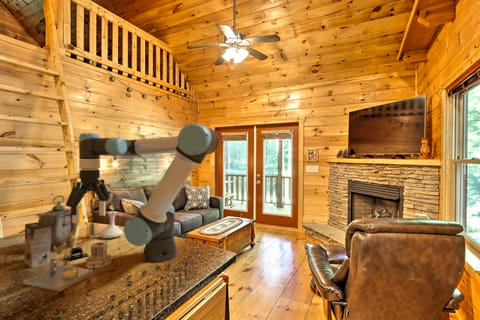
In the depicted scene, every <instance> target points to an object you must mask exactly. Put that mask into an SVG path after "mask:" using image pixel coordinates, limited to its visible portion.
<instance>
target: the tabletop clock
mask: <svg viewBox="0 0 480 320" xmlns="http://www.w3.org/2000/svg"><path fill="white" fill-rule="evenodd" d="M58 198H62V201H61V202H60V201H57V202H55V200H57V199H58ZM64 201H65V197H64V195H57V196H55V197H54V198H53V200H52V203H53V204H54V206H53V207H52V208H51V210H49V211H46V212H44V213H42V214H40V216H39V217H38V222H45V223H47V224H49V225H51V242H52V243H51V250H52V251H56V250H57V246H56V243H60V242H63V241H65V240H68V243H72V242H73V239H72V237H73V236H74V235H75V234H76V230H77V224H78V223H72V215H71V208H69V209H68V208H66V207H65V205H63V202H64Z"/></svg>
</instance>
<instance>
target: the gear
mask: <svg viewBox="0 0 480 320" xmlns="http://www.w3.org/2000/svg"><path fill="white" fill-rule="evenodd" d="M112 260H113V259H112V255H111V254H108V242H106V241H97V242H94V243H91V244H90V257H86V258H85V267H86V269H98V268H104V267H106V266H109V265H110V264H112Z"/></svg>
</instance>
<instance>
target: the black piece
mask: <svg viewBox="0 0 480 320" xmlns="http://www.w3.org/2000/svg"><path fill="white" fill-rule="evenodd" d="M89 257H91V255H89V254H88V253H87V252H84V250H83V248H82V247H81V246H77V247H73V248H70V250H69V256H68V257H63V258H62V260H63V259H64V260H65V261H69V262H73V261H77V260H81V259H87V258H89ZM64 260H63V261H64ZM65 261H64V262H65Z"/></svg>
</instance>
